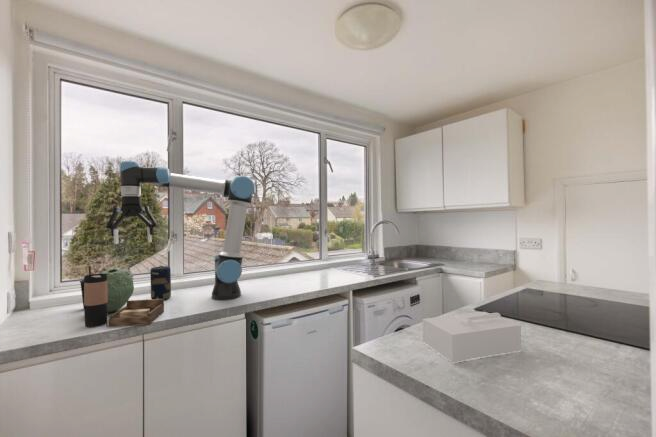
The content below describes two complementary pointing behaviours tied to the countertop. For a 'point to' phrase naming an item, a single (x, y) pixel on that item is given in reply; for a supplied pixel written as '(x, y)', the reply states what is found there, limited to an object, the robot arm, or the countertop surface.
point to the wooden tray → (152, 304)
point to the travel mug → (95, 300)
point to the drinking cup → (83, 286)
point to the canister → (160, 282)
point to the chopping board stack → (134, 313)
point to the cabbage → (118, 288)
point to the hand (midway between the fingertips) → (133, 243)
